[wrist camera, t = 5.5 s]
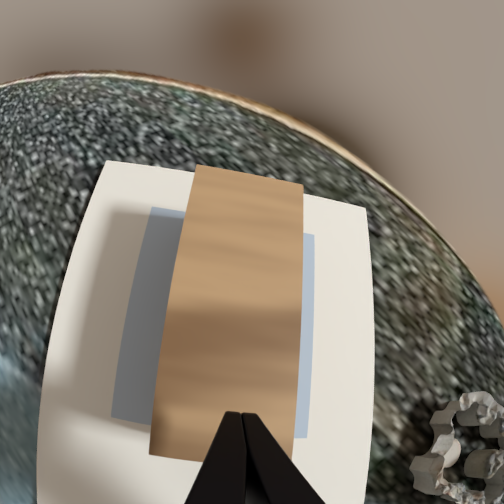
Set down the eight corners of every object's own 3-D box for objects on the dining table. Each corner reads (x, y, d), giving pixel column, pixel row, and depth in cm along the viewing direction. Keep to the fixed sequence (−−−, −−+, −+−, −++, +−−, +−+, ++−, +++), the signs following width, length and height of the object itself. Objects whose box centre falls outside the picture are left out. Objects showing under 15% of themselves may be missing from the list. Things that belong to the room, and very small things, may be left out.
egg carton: (392, 482, 15) (433, 492, 11) (440, 385, 18) (482, 377, 14) (471, 514, 14) (507, 519, 10) (505, 435, 17) (541, 431, 13)
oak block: (291, 465, 10) (303, 185, 15) (148, 454, 9) (196, 164, 14) (259, 446, 14) (275, 234, 19) (159, 435, 13) (191, 219, 19)
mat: (349, 557, 12) (353, 560, 11) (42, 533, 9) (39, 536, 9) (362, 211, 22) (365, 208, 22) (107, 165, 20) (106, 160, 19)
